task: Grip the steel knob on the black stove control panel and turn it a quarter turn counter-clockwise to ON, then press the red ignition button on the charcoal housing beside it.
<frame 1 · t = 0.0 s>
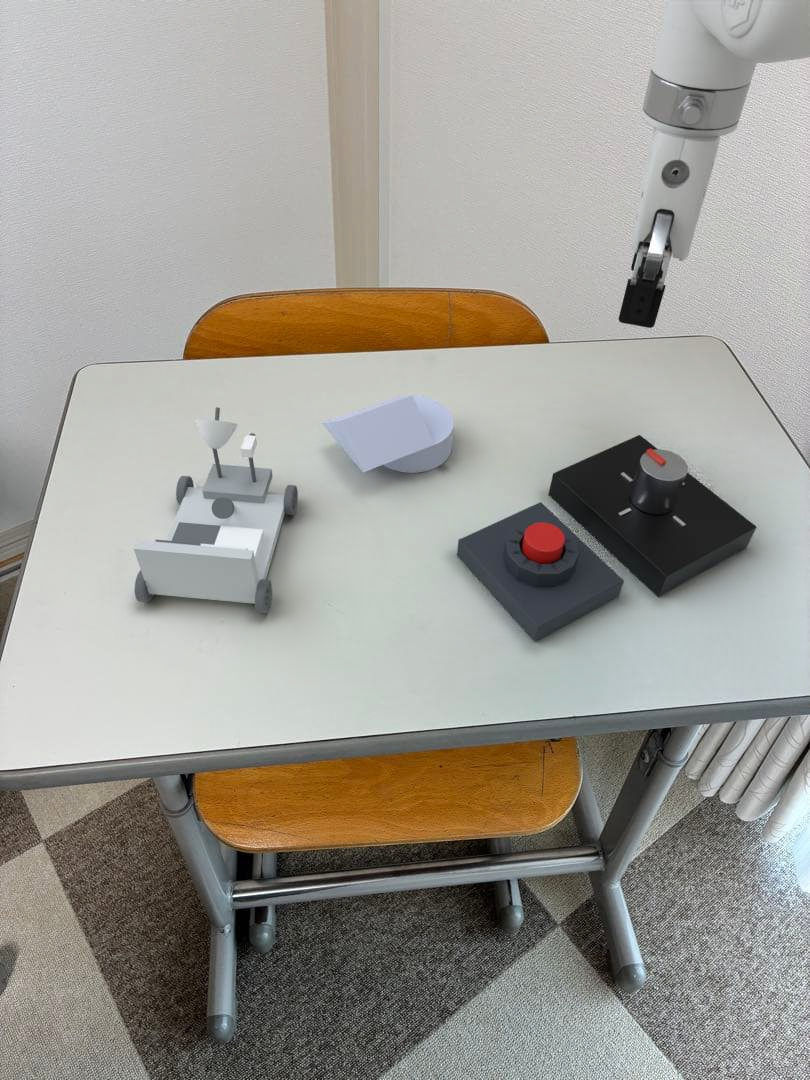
hand: (641, 297, 75), 18 cm above the table, tool pointing down, fingers open, 9 cm apart
burner knob: (658, 480, 76), point 5 cm above the table, hinge at 0.0°
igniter: (536, 575, 75), on the table
toy car: (227, 542, 77), on the table
stove panel: (644, 520, 80), on the table
wedge on round base: (395, 452, 87), on the table
ignite button: (543, 543, 72), point 4 cm above the table, slide at 0.1 cm
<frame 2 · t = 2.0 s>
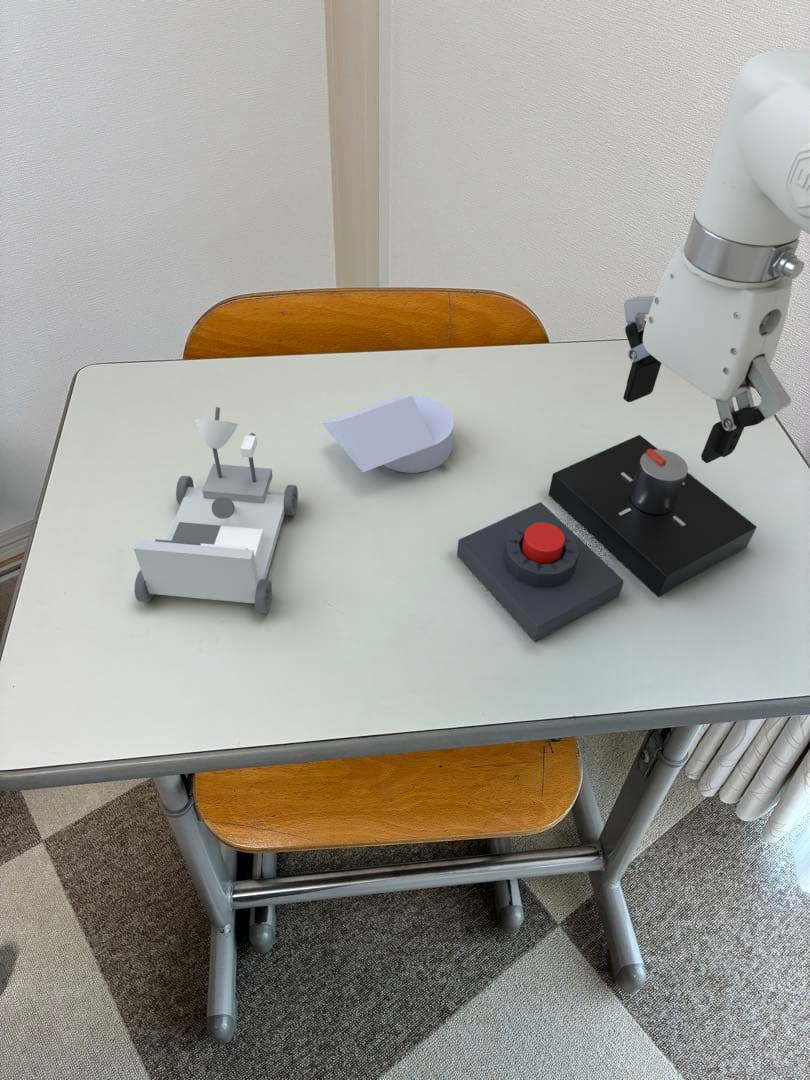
hand: (674, 425, 72), 12 cm above the table, tool pointing down, fingers open, 9 cm apart
nothing on the table moved.
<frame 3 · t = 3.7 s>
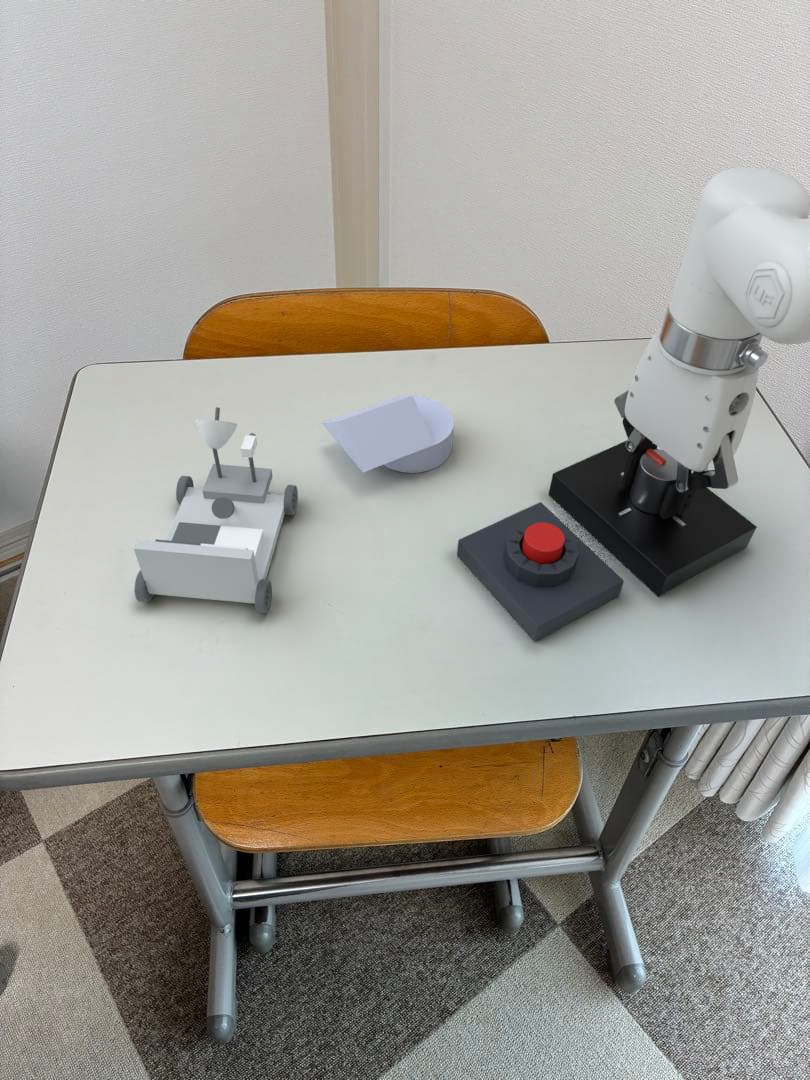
hand: (653, 495, 78), 4 cm above the table, tool pointing down, fingers closed on burner knob, 4 cm apart
burner knob: (658, 480, 76), point 5 cm above the table, hinge at 0.0°, touching gripper
everything else where it was.
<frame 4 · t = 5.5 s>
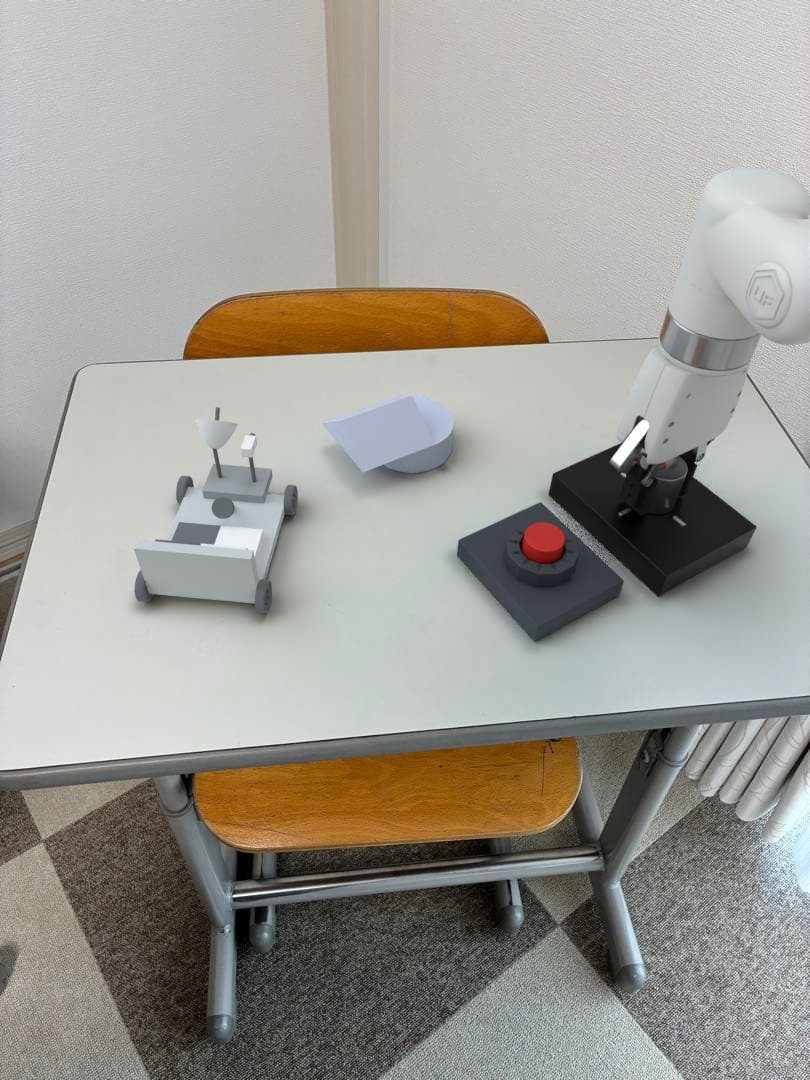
hand: (653, 494, 78), 4 cm above the table, tool pointing down, fingers closed on burner knob, 4 cm apart
burner knob: (658, 480, 76), point 5 cm above the table, hinge at 90.1°, touching gripper
everything else where it was.
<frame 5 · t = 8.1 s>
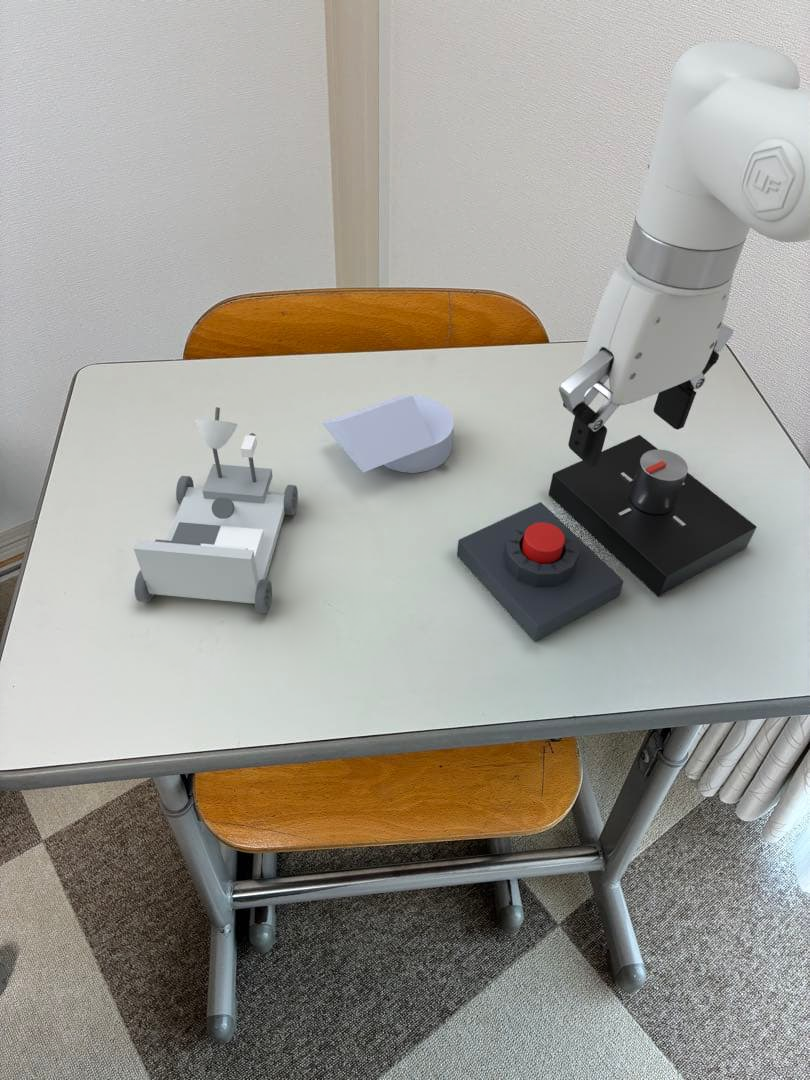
hand: (626, 437, 68), 13 cm above the table, tool pointing down, fingers open, 9 cm apart
burner knob: (658, 480, 76), point 5 cm above the table, hinge at 89.7°
everything else where it was.
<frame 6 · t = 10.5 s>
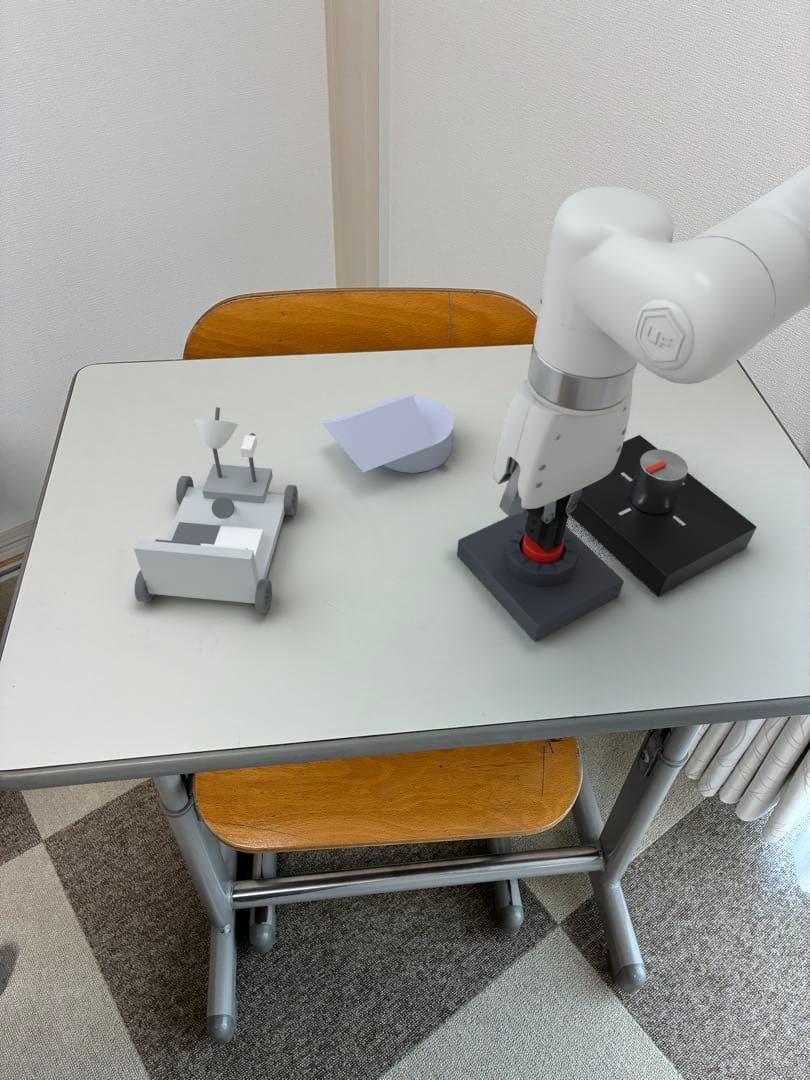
hand: (542, 539, 72), 5 cm above the table, tool pointing down, fingers closed
ignite button: (542, 547, 72), point 4 cm above the table, slide at -0.4 cm, touching gripper
everything else where it was.
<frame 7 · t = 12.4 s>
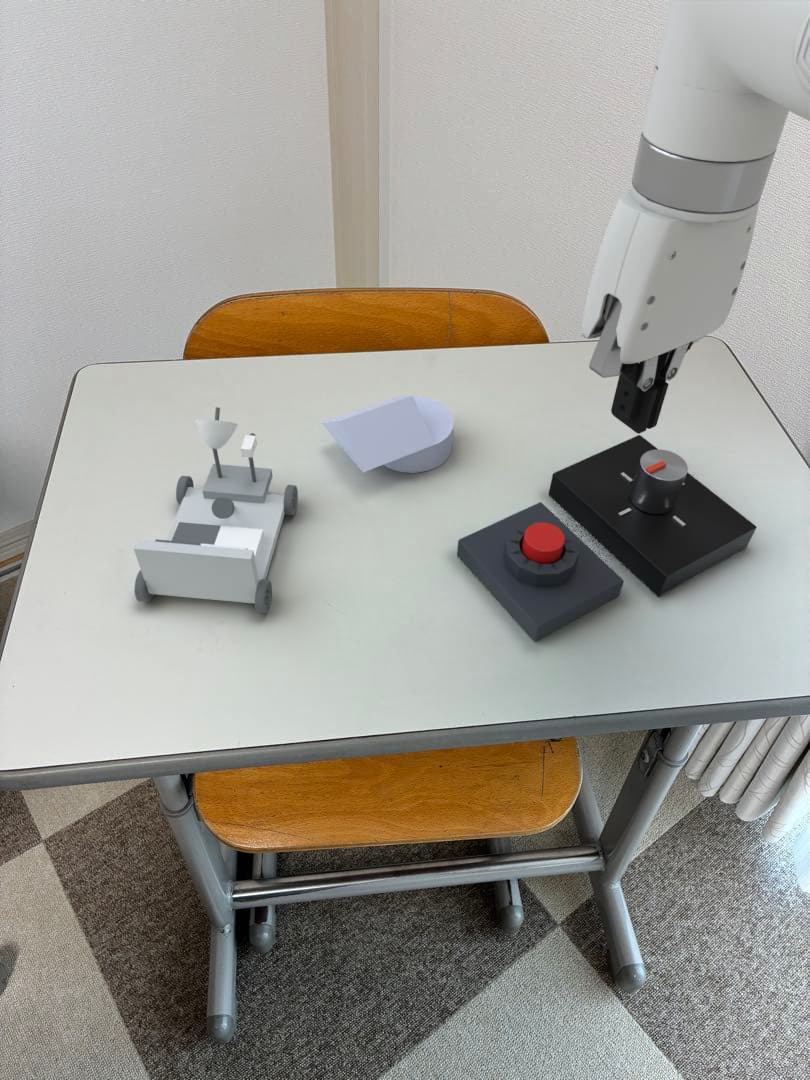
hand: (632, 420, 60), 20 cm above the table, tool pointing down, fingers closed
ignite button: (543, 543, 72), point 4 cm above the table, slide at 0.1 cm
everything else where it was.
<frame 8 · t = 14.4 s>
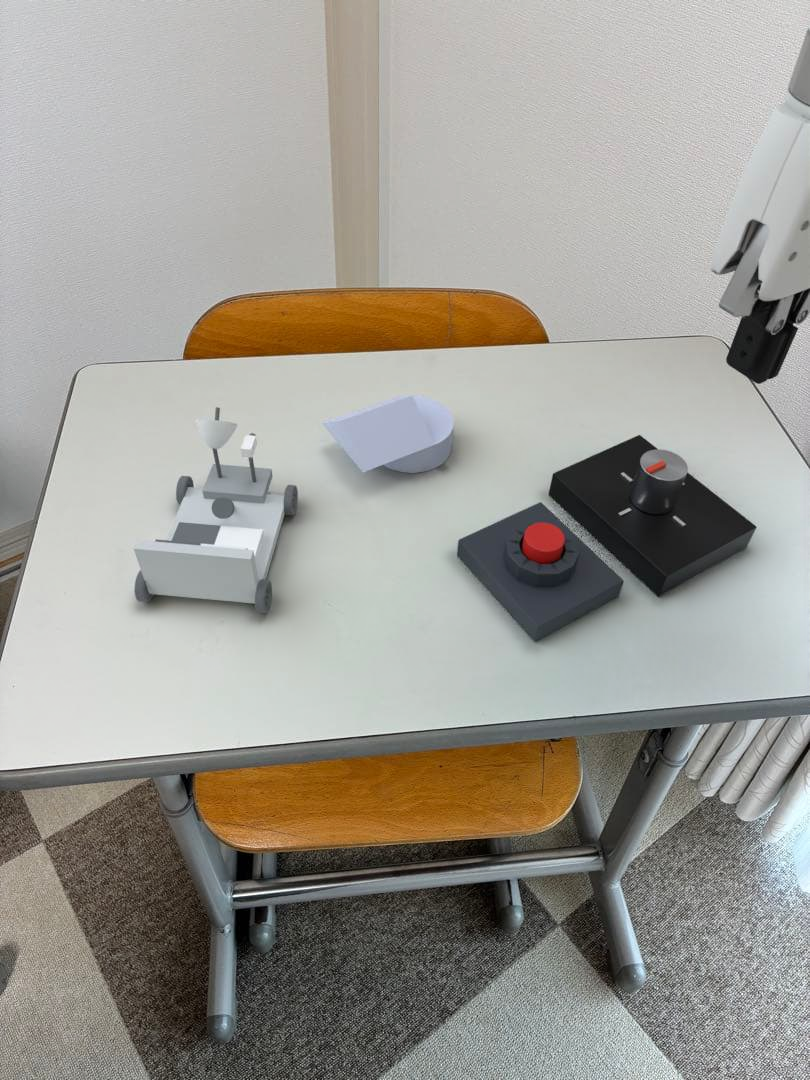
hand: (750, 370, 55), 25 cm above the table, tool pointing down, fingers closed
nothing on the table moved.
at the end: burner knob at +90° (first picture: +0°); ignite button pushed in 1.1 cm at the most during the clip, back to where it started at the end; ignite button slide at 0.1 cm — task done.
